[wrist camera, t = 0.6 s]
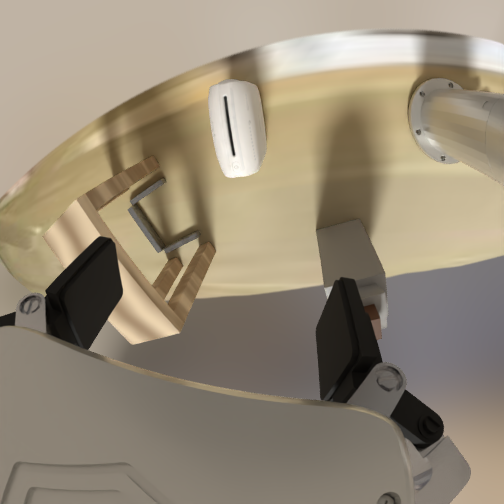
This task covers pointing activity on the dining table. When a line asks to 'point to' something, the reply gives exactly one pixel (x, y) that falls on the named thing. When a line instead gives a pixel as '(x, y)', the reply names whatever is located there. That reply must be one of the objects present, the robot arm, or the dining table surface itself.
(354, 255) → the beige rectangular block
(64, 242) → the wooden display stand
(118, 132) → the dining table surface
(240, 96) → the photo printer
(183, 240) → the seat guides
